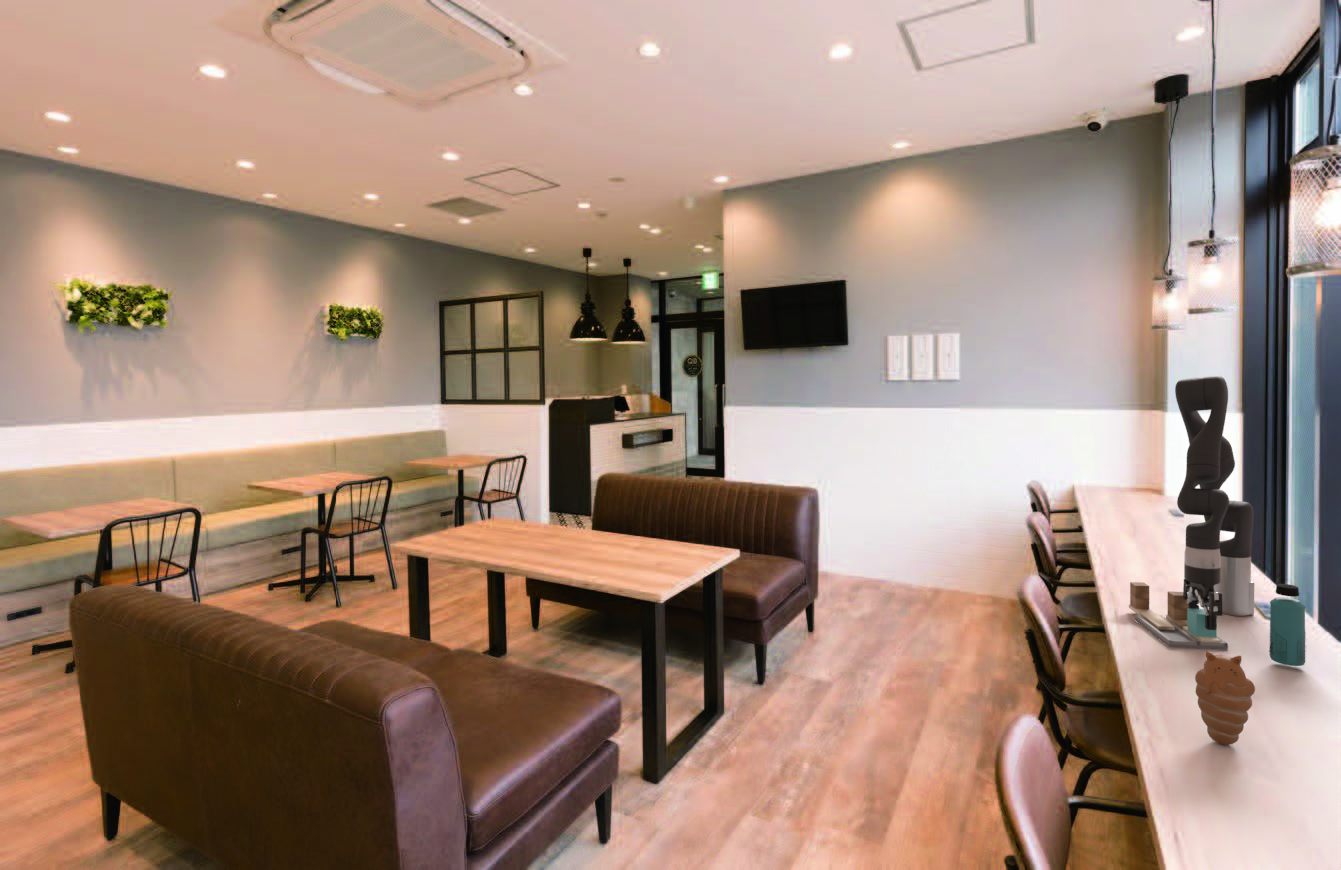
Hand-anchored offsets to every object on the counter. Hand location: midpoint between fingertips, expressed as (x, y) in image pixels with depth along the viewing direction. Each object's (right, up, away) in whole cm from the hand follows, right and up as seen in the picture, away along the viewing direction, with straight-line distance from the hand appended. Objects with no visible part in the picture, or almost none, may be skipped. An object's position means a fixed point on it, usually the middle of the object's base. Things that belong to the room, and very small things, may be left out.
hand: (1201, 623), depth 177 cm
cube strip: (-2, -3, +16) cm, 16 cm away
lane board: (-1, -5, +6) cm, 8 cm away
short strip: (+3, -3, +11) cm, 12 cm away
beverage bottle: (+7, -6, -16) cm, 19 cm away
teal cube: (0, -3, 0) cm, 3 cm away
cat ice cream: (-34, -10, -48) cm, 60 cm away
